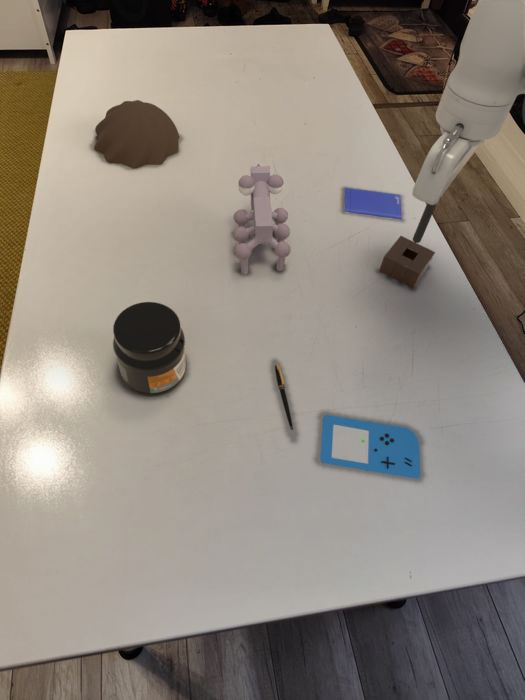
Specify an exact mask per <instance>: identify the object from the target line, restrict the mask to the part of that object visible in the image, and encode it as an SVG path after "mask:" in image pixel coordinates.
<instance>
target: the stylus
mask: <svg viewBox="0 0 525 700" xmlns="http://www.w3.org/2000/svg"><path fill="white" fill-rule="evenodd" d="M436 207H437V204H435V205H430V204H427V203H426V205H425V207H424V210H423V212H422V214H421V217H420V219H419V222H418V225H417V227H416V230H415V232H414V234H413V237H412V241H413V242H415V243H417V244H419V243H421V242H422V239H423V237H424V235H425V233H426V230H427V228H428V225H429V223H430V221H431V219H432V217H433V213H434V211H435V210H436Z"/></svg>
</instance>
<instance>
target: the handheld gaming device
mask: <svg viewBox="0 0 525 700" xmlns="http://www.w3.org/2000/svg"><path fill="white" fill-rule="evenodd" d="M334 425H335V426H341V427H346V428H352V429H356V430H363V431H368V447H367V448H368V449H367V450H368V453H367V463H366V462H360V461H355V460H349V459H341V458H335V457H333V438H334ZM419 442H420V441H419V439H418V436H417V435H416V433H415V432H413V431H412V430H411V429H409V428H408V427H404V426H399V425H392V424H387V423H379V422H374V421H368V420H362V419H355V418H350V417H344V416H343V417H342V416H337V415H331V414H325V415H323V418H322V428H321V442H320V456H319V460H320V462H321V463H323V464H326V465H331V466H336V467H337V466H338V467H344V468H348V469H349V468H350V469H351V468H352V469H356V470H362V471H367V472H375V473H381V474H385V475H386V474H387V475H393V476H399V477H403V478H405V477H406V478H411V479H420V478H421V461H420V458H421V457H420V443H419ZM361 443H365V439H361Z"/></svg>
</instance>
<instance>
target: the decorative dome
mask: <svg viewBox="0 0 525 700" xmlns="http://www.w3.org/2000/svg"><path fill="white" fill-rule="evenodd" d="M94 132H95V134H96V137H97V140H96V141H95V143H94V146H93V150H95V151H96V152H97V153H100V154H101V155H103V157H104V159H105V162H106V163H108V164H117V165H118V164H119V165H123V166H125V167H127V168H130V169H131V170H132V169H133V170H135V169H139V168H141V167H145V166H161V165H163V164H164V162H165V161H166V160H167V159H168V157H172V156H174V155H176V154H178V153H179V139H180V133H179V130H178V128H177V126H176V125H175V123H174V121H173V120H172V118H171V117H170V115H168V114H167V113H166V112H165V111H164V110H163V109H162V108H160V107H159V106H158V105H155V104H153V103H151V102H144V101H142V100H139V99H136V100H132V101H131V100H124V101H122V103H119V104H117V105H114V106H112V107H110V108H109V109H108V110H107V111H106V113H105V116H104V118H103V119H102V120H100V122H98V124H97V125H96V126H95V129H94Z"/></svg>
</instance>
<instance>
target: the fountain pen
mask: <svg viewBox="0 0 525 700" xmlns="http://www.w3.org/2000/svg"><path fill="white" fill-rule="evenodd" d="M274 371H275V377H276V382H277V387H278V390H279V393H280V397H281V401H282V405H283V408H284V411H285V415H286V419H287V422H288V425H289V428H290V430H291V431H292V430H294V426H293V421H292V420H293V419H292V416H291V409H290V405H289V402H288V401H289V400H288V398H287V394H286V393H287V392H286V390H285V389H286V387H285V381H284V377H283V374H282V370H281V367H280V365H279V364H275V365H274Z"/></svg>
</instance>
